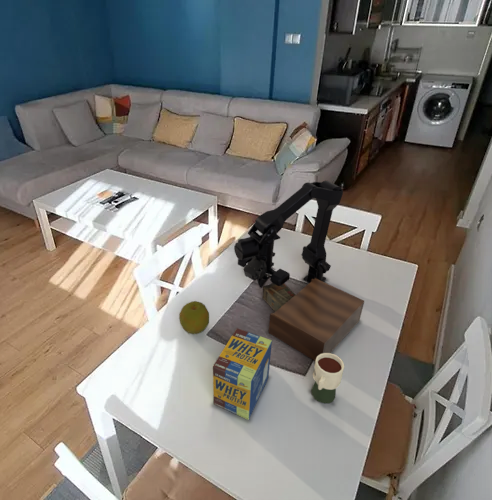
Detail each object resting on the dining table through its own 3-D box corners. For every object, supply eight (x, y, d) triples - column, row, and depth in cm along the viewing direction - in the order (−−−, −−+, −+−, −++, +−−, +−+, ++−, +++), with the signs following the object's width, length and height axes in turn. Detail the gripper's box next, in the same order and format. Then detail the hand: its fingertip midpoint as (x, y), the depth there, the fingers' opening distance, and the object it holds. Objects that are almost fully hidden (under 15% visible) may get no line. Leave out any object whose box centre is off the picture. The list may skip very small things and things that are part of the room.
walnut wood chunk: (309, 296, 140) (312, 276, 135) (359, 321, 128) (364, 300, 124) (268, 332, 125) (270, 312, 120) (320, 364, 114) (324, 343, 109)
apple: (187, 315, 133) (185, 291, 127) (213, 322, 130) (213, 297, 124) (175, 335, 125) (173, 310, 119) (203, 342, 122) (202, 317, 116)
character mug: (318, 375, 110) (324, 344, 103) (342, 387, 107) (351, 355, 100) (302, 402, 103) (308, 370, 96) (327, 416, 99) (335, 384, 92)
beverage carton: (293, 332, 125) (295, 317, 121) (261, 298, 139) (261, 284, 136) (312, 324, 128) (315, 309, 124) (279, 292, 142) (280, 278, 139)
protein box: (212, 405, 103) (211, 366, 95) (236, 364, 114) (236, 326, 106) (249, 421, 99) (251, 382, 90) (269, 377, 110) (273, 338, 102)
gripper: (227, 250, 130) (226, 286, 138) (272, 273, 118) (268, 310, 127) (248, 237, 136) (246, 273, 145) (293, 258, 125) (288, 295, 134)
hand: (261, 287), depth 137 cm, fingers closed
